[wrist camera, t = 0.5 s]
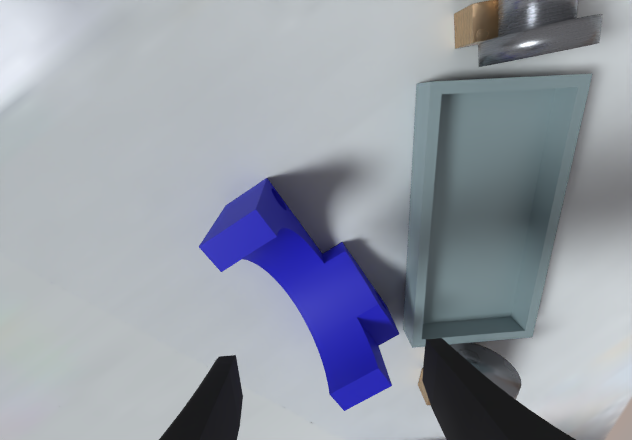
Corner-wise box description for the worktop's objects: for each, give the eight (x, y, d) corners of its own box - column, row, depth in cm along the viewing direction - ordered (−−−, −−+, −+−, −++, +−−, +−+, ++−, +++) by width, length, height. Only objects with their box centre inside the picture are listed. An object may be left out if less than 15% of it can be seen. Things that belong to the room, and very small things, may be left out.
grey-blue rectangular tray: (514, 319, 23) (532, 337, 22) (403, 328, 23) (412, 347, 21) (562, 76, 18) (592, 73, 16) (416, 83, 17) (430, 81, 16)
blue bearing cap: (386, 305, 23) (416, 372, 17) (332, 335, 23) (344, 410, 18) (288, 162, 19) (285, 189, 13) (226, 204, 19) (198, 246, 14)
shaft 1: (428, 332, 23) (466, 395, 18) (486, 333, 24) (538, 396, 19) (415, 384, 25) (446, 456, 20) (469, 385, 25) (512, 456, 20)
